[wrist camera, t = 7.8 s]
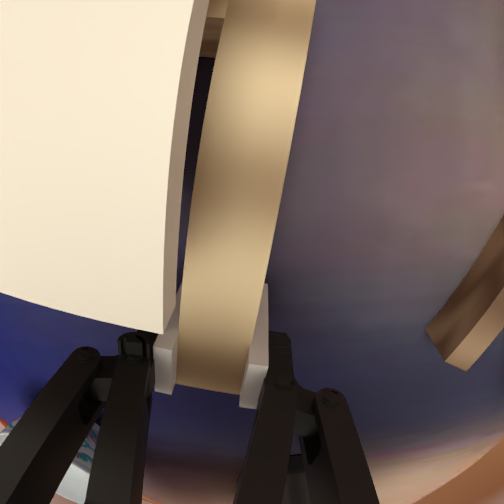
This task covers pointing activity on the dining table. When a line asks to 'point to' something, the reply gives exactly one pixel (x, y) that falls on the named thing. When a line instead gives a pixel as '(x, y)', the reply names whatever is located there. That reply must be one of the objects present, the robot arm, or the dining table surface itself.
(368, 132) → the dining table surface
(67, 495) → the chinaware
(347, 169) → the dining table surface
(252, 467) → the robot arm
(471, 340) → the brown wooden bar
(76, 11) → the shelf
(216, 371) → the crook
